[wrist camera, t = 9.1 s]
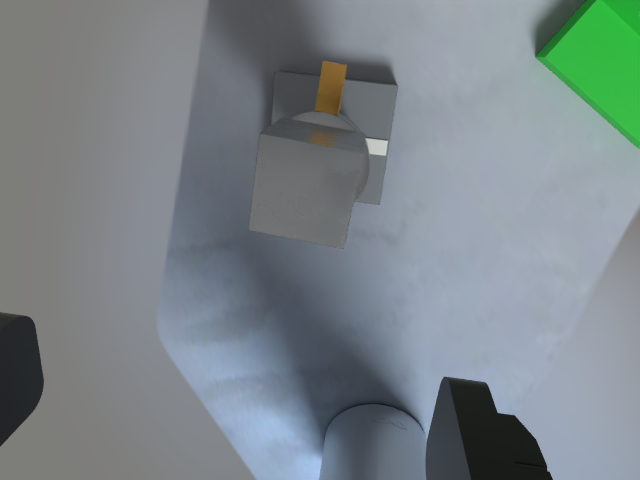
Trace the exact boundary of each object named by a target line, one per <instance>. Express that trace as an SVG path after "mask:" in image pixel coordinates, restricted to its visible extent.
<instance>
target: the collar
mask: <svg viewBox="0 0 640 480" xmlns="http://www.w3.org/2000/svg"><path fill="white" fill-rule="evenodd" d="M346 71H347V65H345V64H339V63H334V62H328V61H323V62H322V68H321V74H320V81H319V87H318V93H317V99H316V106H315V109H311V110H306V111H303V112H300V113H298V114H296V115H294V116H293V117H291V118H290V119H288V118H283V117H281V118H280V119H279V120H277V121H276V122H275V123H273V124H272V125H271V126H269V127H268V128H267V129H265V130H264V131H263V132H261V133H260V136H259V145H258V153H257V162H256V170H255V179H254V187H253V196H252V204H251V213H250V221H249V230H251V231H256V232H261V233H266V234H271V235H276V236H281V237H286V238H291V239H296V240H301V241H306V242H311V243H316V244H321V245H326V246H331V247H336V248H341V249H344V246H345V241H346V236H347V231H348V226H349V221H350V217H351V212H352V207H353V203H354V202H355V201H356V200H357V199H358V198H359V196H360V195H361V193H362V192H363V190H364V188H365V186H366V184H367V180H368V177H369V170H370V153H369V148H368V144H367V141H366V139H365V136H366V133H362V131H361V130H360V129H359V128H358V126H357V125H356V124H355V123H354V122H353V121H352V120H350V119H349V118H348V117H346V116H344V115H342V114H341V113H339V110H340V104H341V99H342V93H343V88H344V82H345V76H346Z"/></svg>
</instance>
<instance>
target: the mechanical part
mask: <svg viewBox="0 0 640 480" xmlns="http://www.w3.org/2000/svg"><path fill="white" fill-rule="evenodd" d="M536 58H537V59H538V60H539V61H540V62H541V63H543V64H544V65H545V66H546V67H547V68H548V69H549V70H550V71H552V72H553V73H554V74H555V75H556V76H557V77H558V78H559V79H561V80H562V81H563V82H564V83H565V84H566V85H567V86H568V87H570V88H571V89H572V90H573V91H574V92H575V93H576V94H577V95H579V96H580V97H581V98H582V99H583V100H584V101H585V102H586V103H588V104H589V105H590V106H591V107H592V108H593V109H594V110H595V111H597V112H598V113H599V114H600V115H601V116H602V117H603V118H604V119H605V120H607V121H608V122H609V123H610V124H611V125H612V126H613V127H614V128H616V129H617V130H618V131H619V132H620V133H621V134H622V135H623V136H625V137H626V138H627V139H628V140H629V141H630V142H631V143H632V144H634V145H635V146H636V147H637V148H639V149H640V0H586V1H585V2H584V3H583V4H582V5H581V6H580V7H579V9H578V10H577V11H576V12H575V13H574V14H573V15H572V16H571V17H570V19H569V20H568V21H567V22H566V23H565V24H564V25H563V26H562V28H561V29H560V30H559V31H558V32H557V33H556V34H555V35H554V37H553V38H552V39H551V40H550V41H549V42H548V43H547V44H546V45H545V47H544V48H543V49H542V50H541V51H540V52H539V53H538V54H537V56H536Z"/></svg>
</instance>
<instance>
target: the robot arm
mask: <svg viewBox="0 0 640 480" xmlns="http://www.w3.org/2000/svg"><path fill="white" fill-rule="evenodd" d="M43 385H44V379H43V372H42V366H41V359H40V353H39V347H38V340H37V334H36V328H35V324H34V322H33V320H32V319H31V318H30V317H27V316H22V315H15V314H8V313H1V312H0V446H1V445H2V444H3V443H4V442H5V441H6V440H7V439H8V438H9V437H10V436H11V434H12V433H13V432H14V431H15V430H16V429H17V428H18V427H19V426H20V425H21V424H22V423H23V422H24V421H25V420H26V419H27V417H28V416H29V415H30V414H31V413H32V412H33V410H34V409H35V408H36V406H37V404H38V402H39V400H40V398H41V395H42V391H43ZM319 480H553V479H552V477H551V474H550V472H547V465H546V462H545V460H544V458H543V455H542V453H541V450H540V448H539V446H538V443H537V441H536V439H535V438H534V437H533V436H532V434H531V433H530V432H529V431H528V430H527V429H526V428H525V427H524V425H522V423H521V422H520V421H519V420H518V419H517V418H516V416H514V415H507V414H500V413H497V410H496V407H495V404H494V401H493V398H492V395H491V392H490V390H489V387H488V385H487V384H486V383H485V382H479V381H472V380H465V379H458V378H451V377H444V378H443V379H442V381H441V384H440V388H439V392H438V396H437V401H436V405H435V409H434V413H433V418H432V422H431V426H430V430H429V435H428V439H427V442H426V438H425V435H424V432H423V430H422V429H421V427H420V425H419V424H418V423H417V422H416V421H415V420H414V419H413V418H412V417H411V416H409V415H408V414H406V413H405V412H403V411H401V410H398V409H396V408H394V407H390V406H385V405H378V404H367V405H359V406H356V407H352V408H349V409H347V410H345V411H344V412H342V413H340V414H339V415H338V416H337V417H335V418H334V419H333V421H332V422H331V423H330V425H329V426H328V429H327V431H326V435H325V442H324V449H323V457H322V464H321V470H320V477H319Z"/></svg>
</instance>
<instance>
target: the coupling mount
mask: <svg viewBox="0 0 640 480" xmlns="http://www.w3.org/2000/svg"><path fill="white" fill-rule="evenodd" d="M319 81H320V76H319V75H310V74H301V73H292V72H283V71H277V72H274V89H273V106H272V123H271V125H272V124H273V123H275V122H276V121H277V120H279V119H280V118H281V117H283V118H288V119H290V118H291V117H293V116H294V115H296V114H298V113H300V112H303V111H306V110H311V109H315V106H316V99H317V93H318V87H319ZM397 89H398V85H397V84H390V83H381V82H372V81H363V80H354V79H345V82H344V88H343V93H342V99H341V104H340V110H339V113H341V114H342V115H344V116H346V117H348V118H349V119H350V120H352V121H353V122H354V123H355V124H356V125H357V126H358V128H359V129H360V130H361V131H362V133H366V136H365V139H366V141H367V144H368V148H369V153H370V170H369V177H368V180H367V184H366V186H365V188H364V190H363V192H362V193H361V195H360V196H359V198H358V199H357V200H356V201H355V202H361V203H369V204H377V205H380V199H381V192H382V186H383V180H384V173H385V167H386V160H387V154H388V147H389V141H390V135H391V128H392V122H393V115H394V109H395V102H396V96H397Z"/></svg>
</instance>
